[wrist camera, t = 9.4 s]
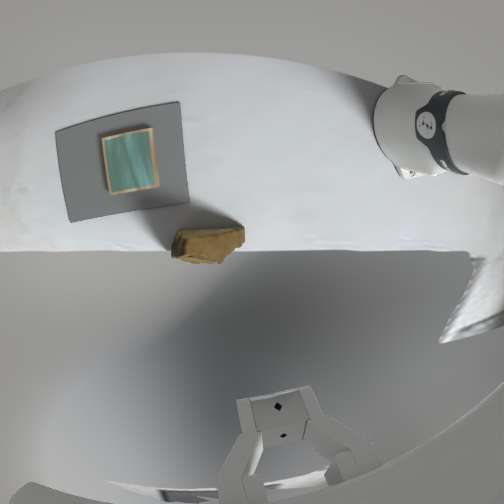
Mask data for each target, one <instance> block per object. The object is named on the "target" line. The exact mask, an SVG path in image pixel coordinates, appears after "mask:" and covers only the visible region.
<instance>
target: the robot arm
mask: <svg viewBox="0 0 504 504" xmlns="http://www.w3.org/2000/svg"><path fill="white" fill-rule="evenodd" d="M374 129H375V134H376V138H377V141H378V143H379V146H380V148H381V149H382V151H383V152H384V154H385V155H386V156H387V157H388V158H389V159H390V160H391V161H392V162H393V163H394V165H395V166H396V168H397V171H398V173H399V175H400V177H401V178H403V179H411V178H415V177H419V176H423V175H430V176H436V174H440V173H443V172H446V171H450V172H452V173H455V174H462V175H468V174H472V175H475V176H478V177H481V178H484V179H487V180H490V181H492V182H495V183H498V184H501V185H504V93H503V94H492V95H471V94H466V93H464V92H460V91H454V90H447V91H445V90H442V88H441V87H440V86H437V85H435V83H432V82H419V83H418V82H416V81H415V80H413V79H411V78H409V77H407V76H405V75H403V76H402V75H400V76H399V77H398V78H397V80H396V82H395V83H394V85H393V86H392V87H391V88H389V89H387V90H386V91H385V92H384V93H383V94H382V95H381V96H380V98H379V99H378V101H377V104H376V107H375V111H374ZM236 401H237V407H238V413H239V418H240V423H241V428H242V433H243V434H241V435H239V436H238V438H237V440H236V442H235V444H234V446H233V448H232V450H231V452H230V454H229V455H228V457H227V459H226V461H225V463H224V465H223V467H222V469H221V470H220V472H219V474H218V476H217V478H216V483H217V489H218V496H219V502H220V504H504V382H502V383H501V384H500V385H499V386H498V387H497V388H496V389H495V390H494V391H493V392H492V393H491V394H489V395H488V396H487V397H486V398H485V399H484V400H483V401H481V402H480V403H479V404H478V405H477V406H475V407H474V408H473V409H472V410H471V411H469V412H468V413H467V414H465V415H464V416H463V417H461V418H460V419H459V420H457V421H456V422H455V423H453V424H452V425H451V426H449V427H448V428H446V429H445V430H443V431H442V432H440V433H439V434H437V435H436V436H434V437H433V438H431V439H429V440H428V441H426V442H425V443H423V444H421V445H419V446H418V447H416V448H414V449H413V450H411V451H409V452H407V453H405V454H404V455H402V456H400V457H398V458H396V459H394V460H392V461H390V462H388V463H386V464H384V465H383V463H382V461H381V459H380V457H379V455H378V453H377V452H376V450H375V448H374V446H373V444H372V442H371V440H369V439H367V438H365V437H364V436H362V435H360V434H358V433H357V432H355V431H353V430H351V429H350V428H348V427H346V426H344V425H343V424H341V423H339V422H338V421H336V420H334V419H333V418H331V417H329V416H328V415H326V416H324V415H323V413H322V411H321V409H320V407H319V404H318V402H317V400H316V397H315V395H314V393H313V391H312V389H311V387H310V386H309V385H307V386H304V387H300V388H294V389H290V390H287V391H282V392H278V393H273V394H269V395H264V396H258V397H252V398H245V399H239V400H236ZM300 440H303V441H304V442H305V443H306V444H308V445H309V446H310V447H311V448H313V449H314V450H315V451H317V452H318V453H319V454H321V455H322V456H323V457H325V458H326V459H327V460H329V461H330V462H331V464H330V466H329V468H328V469H327V471H326V473H325V474H324V475H325V478H326V481H327V483H328V486H329V487H326V488H323V489H320V490H316V491H313V492H309V493H306V494H302V495H298V496H294V497H291V498H286V499H282V500H277V501H272V502H268V499H267V495H266V491H265V488H264V484H263V480H262V477H261V476H259V475H257V474H255V475H253V473H254V471H255V469H256V466H257V464H258V461H259V459H260V456H261V454H262V451H263V449H264V448H269V447H273V446H277V445H281V444H286V443H291V442H295V441H300ZM9 504H111V503H105V502H100V501H96V500H91V499H87V498H82V497H79V496H75V495H71V494H67V493H64V492H61V491H58V490H55V489H52V488H49V487H46V486H43V485H40V484H38V483H34V482H29V483H27V484H25V485H24V486H23V487H22V488H20V489H19V490H18V491H17V492H16V493H15V494H13V495H12V497H11V499H10V501H9Z"/></svg>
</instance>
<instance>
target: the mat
mask: <svg viewBox="0 0 504 504" xmlns="http://www.w3.org/2000/svg"><path fill="white" fill-rule="evenodd" d="M147 128H153V130H154V141H155V151H156V160H157V168H158V176H159V183H160V186H159V187H156V188H150V189H144V190H138V191H132V192H127V193H121V194H116V195H111V196H110V193H109V187H108V181H107V175H106V168H105V161H104V153H103V144H102V138H105V137H109V136H114V135H118V134H122V133H127V132H132V131H136V130H141V129H147ZM56 141H57V151H58V159H59V166H60V173H61V179H62V185H63V190H64V195H65V200H66V205H67V210H68V214H69V218H70V223H72V222H77V221H82V220H86V219H92V218H97V217H102V216H107V215H113V214H118V213H124V212H130V211H136V210H142V209H148V208H155V207H161V206H168V205H175V204H182V203H190V200H189V192H188V184H187V175H186V165H185V156H184V145H183V134H182V122H181V108H180V102H179V103H172V104H166V105H160V106H154V107H148V108H143V109H138V110H133V111H129V112H124V113H120V114H116V115H112V116H108V117H104V118H100V119H97V120H93V121H90V122H86V123H83V124H80V125H77V126H73V127H70V128H67V129H64V130H62V131H59V132H56Z"/></svg>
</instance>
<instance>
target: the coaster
mask: <svg viewBox="0 0 504 504" xmlns="http://www.w3.org/2000/svg"><path fill="white" fill-rule="evenodd" d="M102 144H103V153H104V161H105V168H106V175H107V181H108V187H109V193H110V196H111V195H116V194H121V193H127V192H132V191H138V190H144V189H150V188H156V187H159V186H160V183H159V176H158V168H157V160H156V151H155V141H154V130H153V128H147V129H141V130H136V131H132V132H127V133H122V134H118V135H114V136H109V137H105V138H102Z"/></svg>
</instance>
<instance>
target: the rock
mask: <svg viewBox="0 0 504 504" xmlns="http://www.w3.org/2000/svg"><path fill="white" fill-rule="evenodd" d="M244 242H245V230H244V226H237V227H230V228H218V229H192V230H187V229H184V230H179V231H178V233H177V235H176V237H175V239H174V242H173V244H172V250H171V251H172V253H171V256H172V258H177V259H181V260H183V261H187V262H191V263H195V264H196V263H197V264H199V263H209V264H214V263H218V264H219V263H222V262H223V261H224V259H225V257H226V256H227V255H228V254H230V253H231V252H232V251H234V249H235V248H239V247H241V246H242V244H243V243H244Z"/></svg>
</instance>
